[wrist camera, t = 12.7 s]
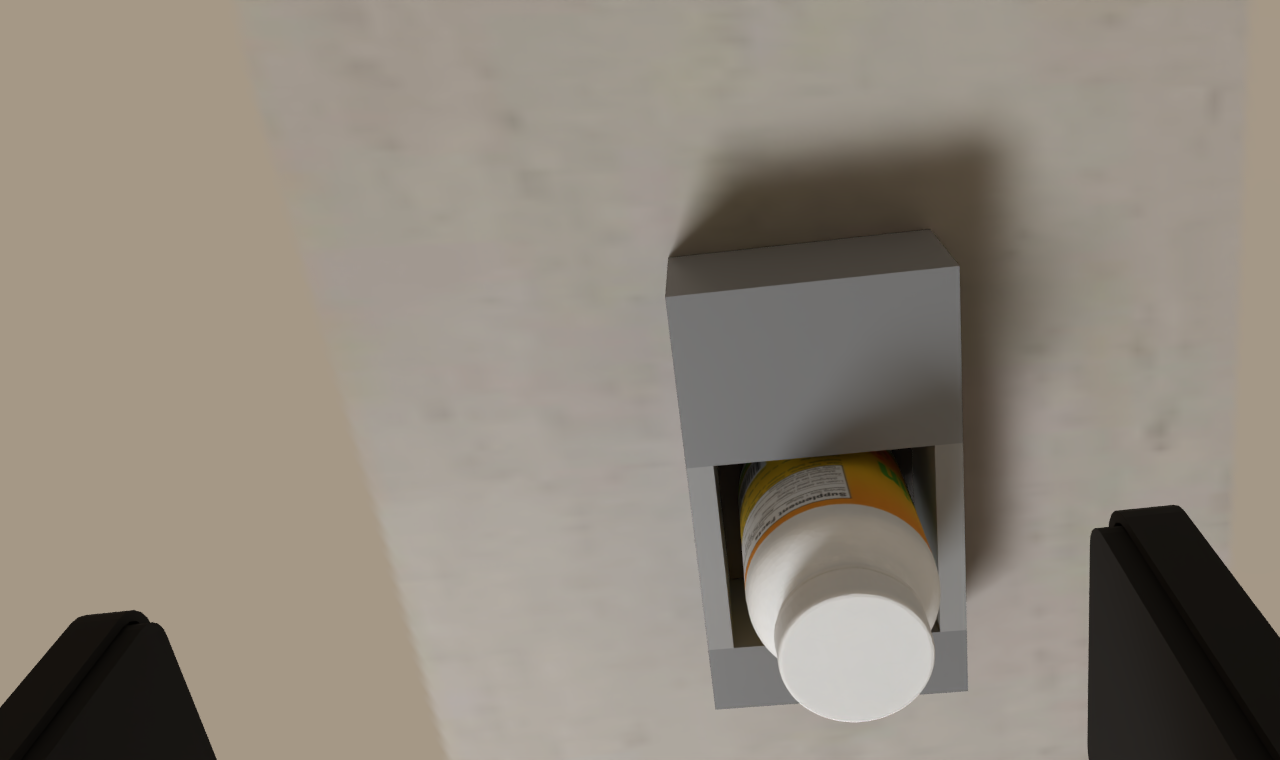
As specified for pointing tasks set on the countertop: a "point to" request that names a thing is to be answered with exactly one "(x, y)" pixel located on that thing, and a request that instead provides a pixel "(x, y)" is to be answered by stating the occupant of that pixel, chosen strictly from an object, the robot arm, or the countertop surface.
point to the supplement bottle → (840, 581)
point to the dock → (819, 408)
